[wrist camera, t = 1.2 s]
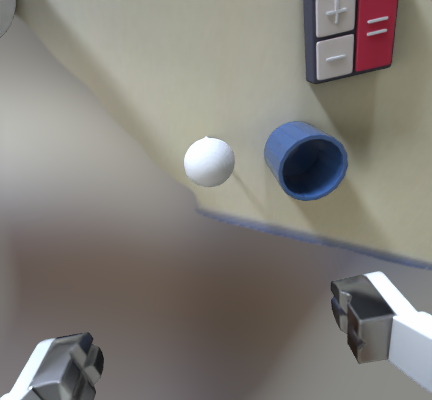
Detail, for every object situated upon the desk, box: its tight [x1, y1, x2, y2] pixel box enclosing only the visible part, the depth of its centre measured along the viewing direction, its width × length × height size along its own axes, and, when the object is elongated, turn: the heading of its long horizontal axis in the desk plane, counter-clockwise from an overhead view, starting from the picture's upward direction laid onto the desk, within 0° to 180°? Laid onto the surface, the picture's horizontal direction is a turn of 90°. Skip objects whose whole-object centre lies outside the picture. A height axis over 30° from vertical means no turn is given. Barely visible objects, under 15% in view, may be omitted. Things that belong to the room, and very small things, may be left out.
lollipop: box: [184, 136, 235, 187], centre depth 37 cm, size 6×6×15 cm
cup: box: [264, 121, 348, 201], centre depth 42 cm, size 10×10×9 cm
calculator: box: [303, 0, 398, 84], centre depth 36 cm, size 11×4×15 cm
